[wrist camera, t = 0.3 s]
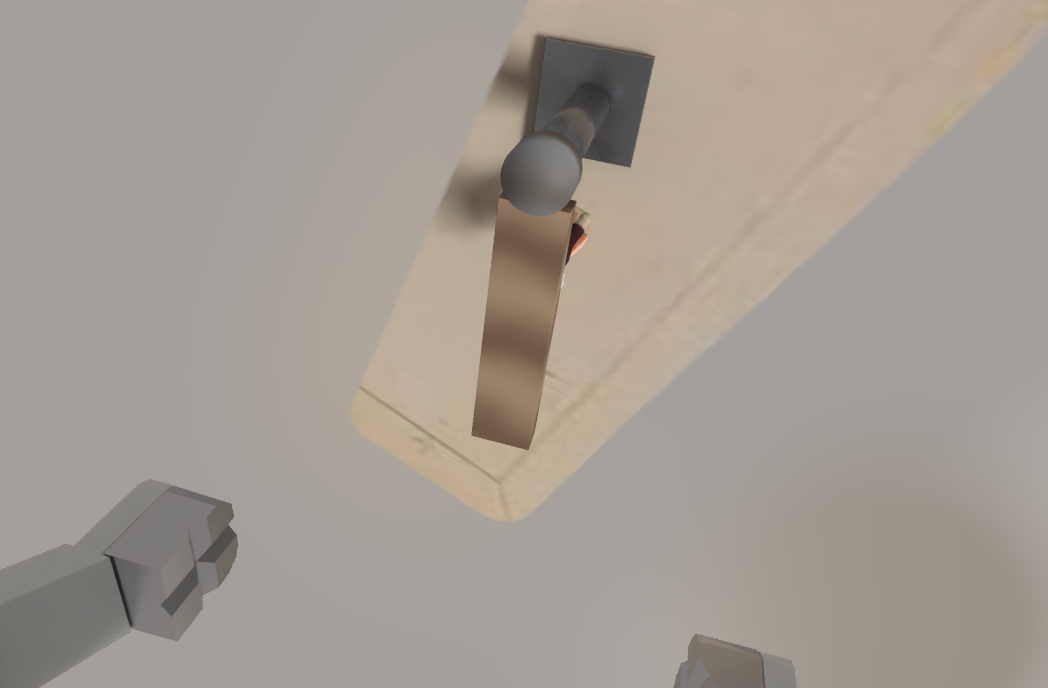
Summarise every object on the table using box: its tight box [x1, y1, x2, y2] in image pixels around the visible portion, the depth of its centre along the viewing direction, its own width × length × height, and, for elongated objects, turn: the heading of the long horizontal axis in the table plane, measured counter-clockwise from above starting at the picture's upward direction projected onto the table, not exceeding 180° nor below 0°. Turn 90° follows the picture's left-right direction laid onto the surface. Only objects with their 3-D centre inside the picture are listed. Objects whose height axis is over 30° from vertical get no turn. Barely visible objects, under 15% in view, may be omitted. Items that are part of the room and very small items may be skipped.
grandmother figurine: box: [561, 207, 592, 288], centre depth 52 cm, size 8×4×13 cm, turn 149°
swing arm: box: [472, 130, 582, 450], centre depth 41 cm, size 20×4×2 cm, turn 173°
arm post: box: [533, 38, 655, 167], centre depth 45 cm, size 8×8×17 cm
